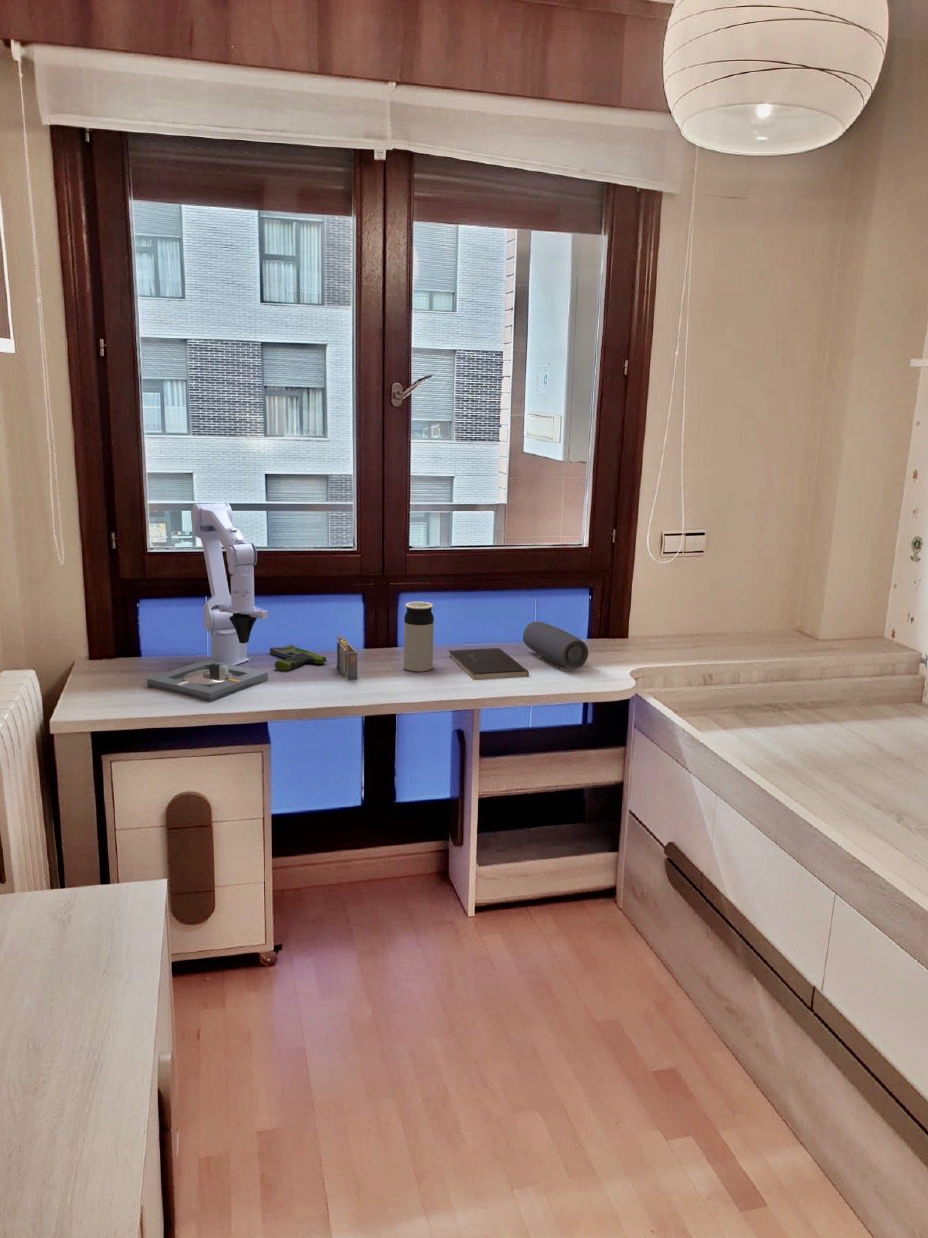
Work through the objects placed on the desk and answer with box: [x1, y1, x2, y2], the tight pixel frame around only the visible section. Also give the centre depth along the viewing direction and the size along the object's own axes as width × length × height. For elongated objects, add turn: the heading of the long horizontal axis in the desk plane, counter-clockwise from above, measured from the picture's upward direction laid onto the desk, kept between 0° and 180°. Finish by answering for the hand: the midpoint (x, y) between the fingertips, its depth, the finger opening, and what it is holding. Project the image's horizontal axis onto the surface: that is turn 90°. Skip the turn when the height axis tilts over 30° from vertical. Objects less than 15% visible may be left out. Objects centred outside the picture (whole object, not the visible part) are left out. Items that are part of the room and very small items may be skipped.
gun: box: [269, 644, 328, 671], centre depth 264 cm, size 2×19×15 cm
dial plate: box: [146, 658, 269, 703], centre depth 242 cm, size 21×21×2 cm
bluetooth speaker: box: [522, 620, 589, 670], centre depth 270 cm, size 23×9×10 cm, turn 25°
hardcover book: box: [448, 647, 530, 680], centre depth 265 cm, size 16×23×2 cm
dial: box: [184, 663, 233, 687], centre depth 241 cm, size 12×12×4 cm
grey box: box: [335, 635, 358, 681], centre depth 253 cm, size 11×3×10 cm, turn 22°
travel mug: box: [403, 601, 435, 673], centre depth 259 cm, size 8×8×18 cm
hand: (243, 642), depth 244 cm, fingers closed
